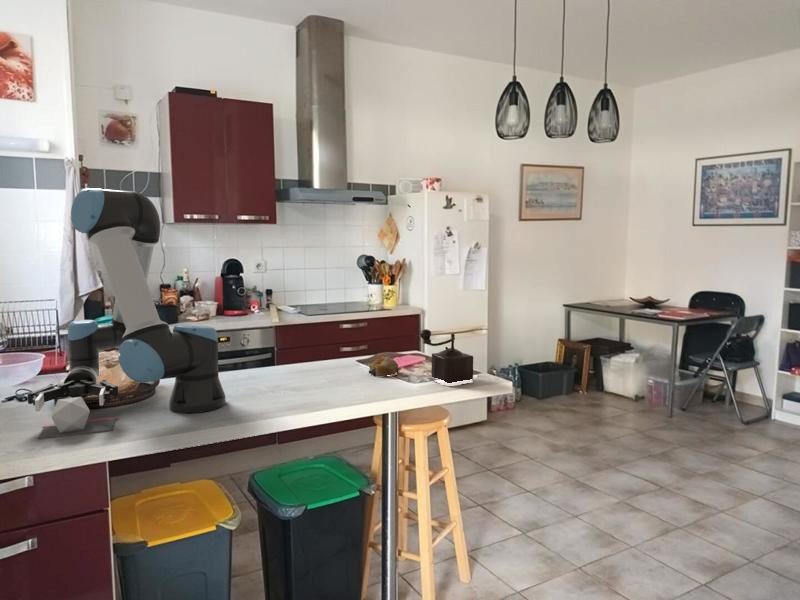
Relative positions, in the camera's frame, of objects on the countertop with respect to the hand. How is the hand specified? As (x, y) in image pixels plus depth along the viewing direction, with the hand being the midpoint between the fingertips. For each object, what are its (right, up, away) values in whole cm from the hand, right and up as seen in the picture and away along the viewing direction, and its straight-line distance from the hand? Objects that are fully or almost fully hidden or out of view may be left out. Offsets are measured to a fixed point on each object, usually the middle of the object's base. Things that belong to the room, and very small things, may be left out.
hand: (69, 403), depth 140 cm
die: (-2, -7, +4) cm, 8 cm away
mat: (-1, -8, +5) cm, 9 cm away
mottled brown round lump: (+74, -2, +64) cm, 98 cm away
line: (-3, -7, +10) cm, 13 cm away
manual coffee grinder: (+95, -3, +53) cm, 109 cm away
